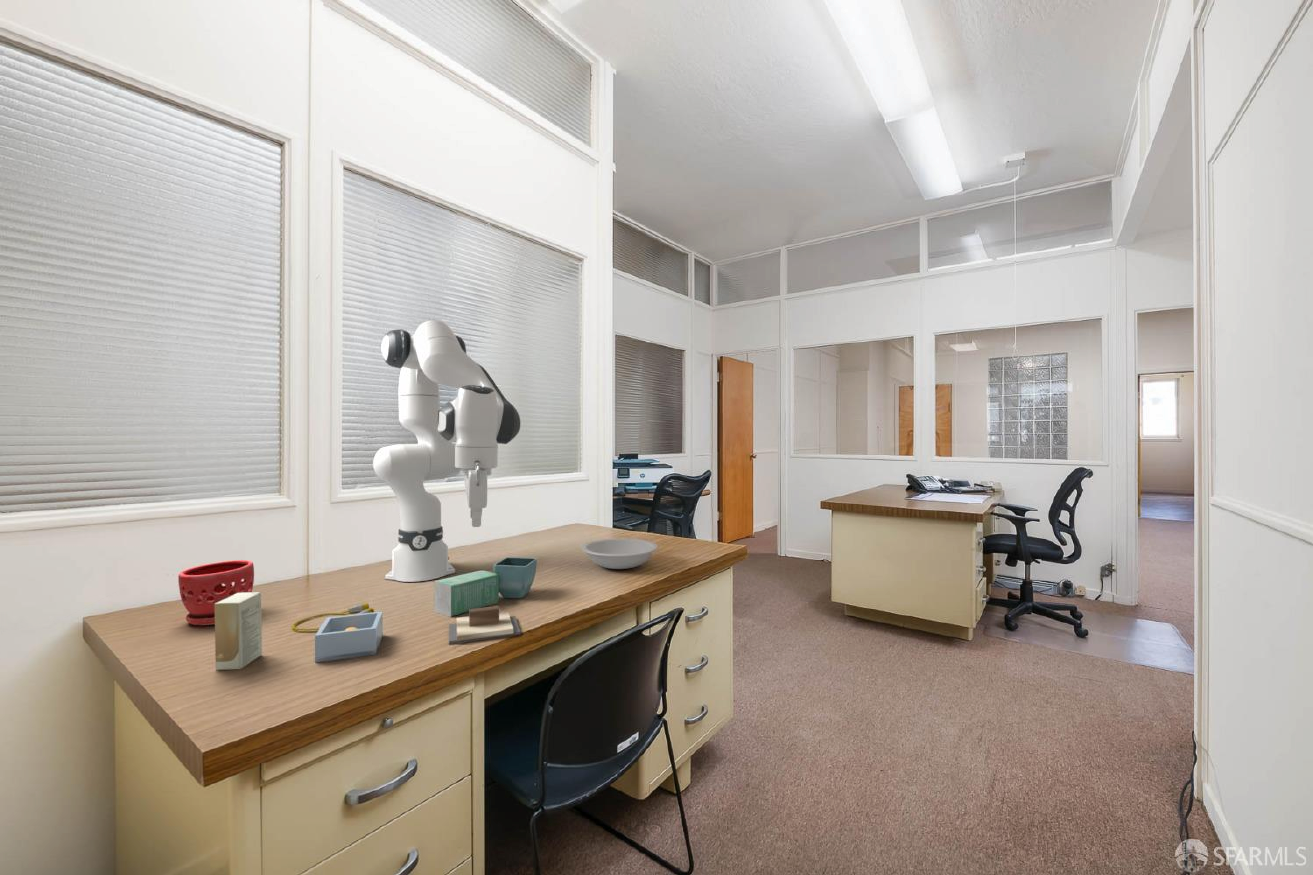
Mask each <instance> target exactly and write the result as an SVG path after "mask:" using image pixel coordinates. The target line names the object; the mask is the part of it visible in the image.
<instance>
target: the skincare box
mask: <svg viewBox="0 0 1313 875" xmlns="http://www.w3.org/2000/svg"><path fill="white" fill-rule="evenodd" d="M262 626H263V624H262V593H261V591H260V592H259V591H257V592H256V591H252V592H246V593H236V594H234V595H232V596H230V597H228V598H225V599H223V600H221V601H219V602H217V603H215V624H214V636H215V637H214V645H215V646H214V648H215V650H214V651H215V652H214V654H215V670H217V671H223V670H224V671H225V670H241V669H243V668H244V667H247V665H249V664H251V662H253V661H254V660H256V659H257V658H259V657H260V656H261V655H263V640H262V639H263V636H262V635H263V628H262Z"/></svg>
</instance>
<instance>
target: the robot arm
mask: <svg viewBox="0 0 1313 875" xmlns="http://www.w3.org/2000/svg"><path fill="white" fill-rule="evenodd" d="M380 346H381V348H380V350H381V354H382V357H383V361H384V362H385V363H386V364H387V365H388V366H389V367H392V368H396V369H400V373H399V379H398V394H397V395H398V396H397V397H398V398H397V399H398V420H399V423H400V425H401V427H403V428H405V429H406V430H408V431H409V432H412V433H413V435H415V437H416V440H417V443H397V444H393V445H387V446H384V447H380V448H379V449H378V451H377V452H376V453H375V455H374V457H373V460H372V461H373V462H372V467H373V470H374V474H375V475H376V477H377V478H378V479H379V480H381V481H382V482H384V483H385V484H387V485H388V487H390V488H391V490H392V491H393V493H394V495H395V497H396V499H397V502H398V507H399V508H398V509H399V529H398V533H397V538H398V539H397V540H398V544H397V546H395V547H394V548H393V549H392V557H391V558H392V561H391V564H392V566H391V567H392V568H391V570H390V571H389V572H388V573H386V574H385V580H393V581H397V582H403V583H405V582H406V583H409V582H410V583H414V582H425V581H431V580H435V579H439V578H442V577H445V576H447V575H452V574H455V573H456V568H455V567H454V566H453V565H452V564H451V563H450V561H449V560H450V557H449V546H448V545H447V544H446V543H445V542H444V540H443V538H444V530H443V528H444V527H443V526H442V502H441V501H440V499H439V497H437V496H436V495H434V494H432V493H430V492H428V491H427V490H426V489H425V486H424V481H425V482H426V481H435V480H437V481H438V480H445V479H448V478H452V477H454V476H457V475H459V474H460V475H461V476H463V477H464V478H463V479H464V486H465V487H464V488H465V494H466V500H467V505H468V508H469V509H470V510H469V511H470V514H469V515H470V518H471V526H472V528H480V527H481V526H482V515H483V509H485V508H486V507H487V506H488V476H491V475H492V469H496V468H498V453H499V452H498V449H499V448H498V447H499V446H498V445H499V444H503V445H507V444H509V443H510V442H511V441H512V440H513V439H515V437H516V436H517V435H518V434H519V433H520V430H521V417H520V414H519V412H518V410H517V408H515V406H514V405H513V404H512V403H511V402H510V401H508V399H506V397H505V396H504V394H503V393H502V391H501V390H500V389H499V387H498V386H497V384H496V382H495V381H494V380H493V378H492V377H491V375H490V374H489V373H488V372H487V369H485V368H484V367H483V366H482V365H481V364H479V363H477V362H476V361H475V360H473V359H472V358H471V357H470V356H469V355H468V354H467V347H466V343H465V341H464V338H462V337H460V336H459V335H456V334H455V333H454V331H453V330H452V329H451V328H450V327H449V326H448V325H447V324H446V323H445V322H443V321H440V320H435V319H432V320H431V319H430V320H427V321H423V322H422V323H421V324H419V326H418V327H417V329H416V330H403V329H402V328H401V329H392V330H389V331H387V333H385V334H384V337H383V339H382V342H381V345H380ZM439 385H441V386H444V387H445V386H446V387H451V388H455V389H458V391H457V397H455V399H453V400H452V401H447V402H445V403H444V404H443V405H442V406H440V386H439ZM454 443H455V444H454Z"/></svg>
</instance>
